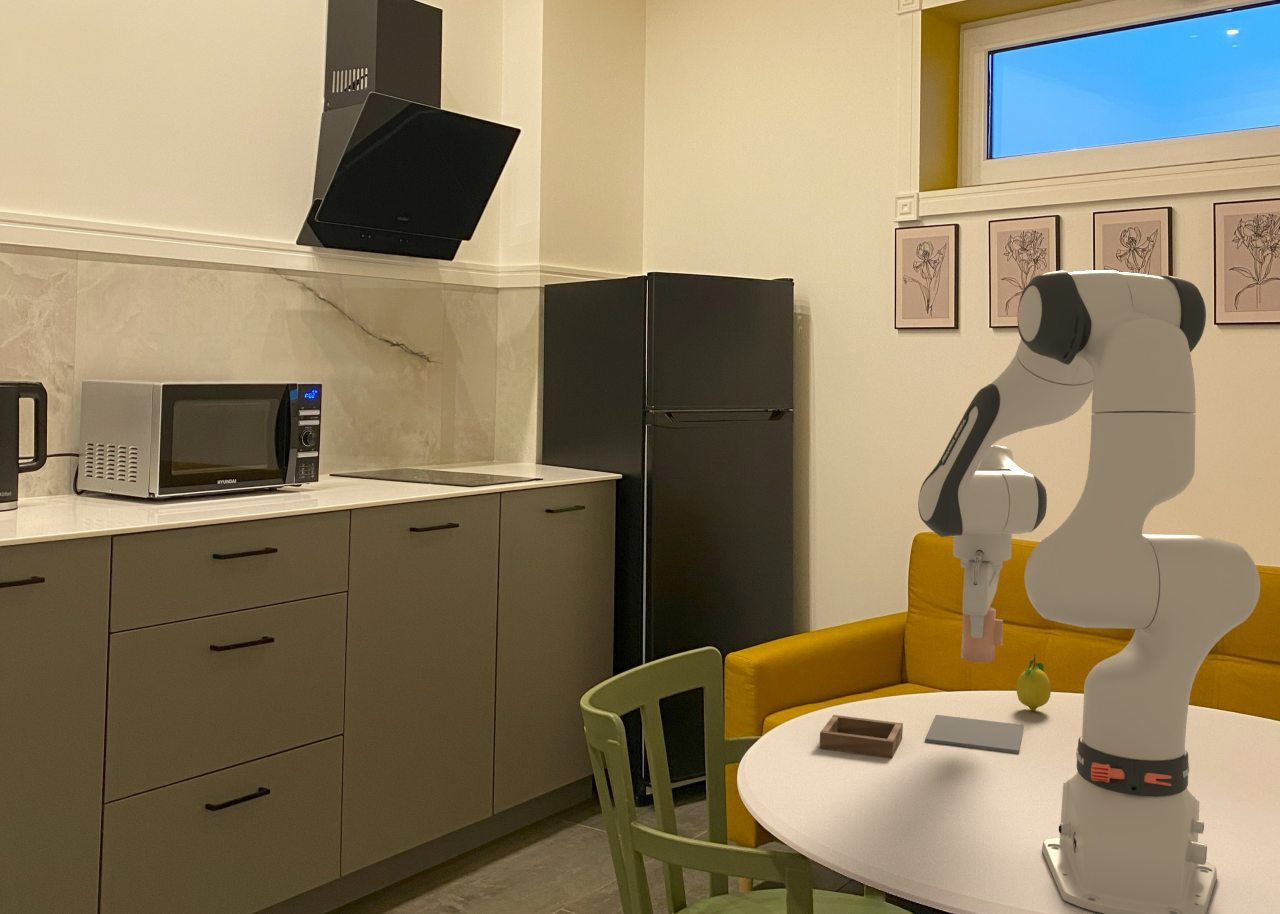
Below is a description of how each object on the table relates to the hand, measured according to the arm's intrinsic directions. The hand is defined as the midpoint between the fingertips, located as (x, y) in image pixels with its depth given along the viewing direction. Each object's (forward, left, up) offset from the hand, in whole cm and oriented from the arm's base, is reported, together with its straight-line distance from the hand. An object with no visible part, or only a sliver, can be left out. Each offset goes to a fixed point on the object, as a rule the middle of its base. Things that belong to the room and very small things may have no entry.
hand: (978, 632), depth 181 cm
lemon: (+18, -8, -17) cm, 26 cm away
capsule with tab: (0, 0, -4) cm, 4 cm away
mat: (0, 0, -17) cm, 17 cm away
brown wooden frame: (-12, +16, -17) cm, 26 cm away
